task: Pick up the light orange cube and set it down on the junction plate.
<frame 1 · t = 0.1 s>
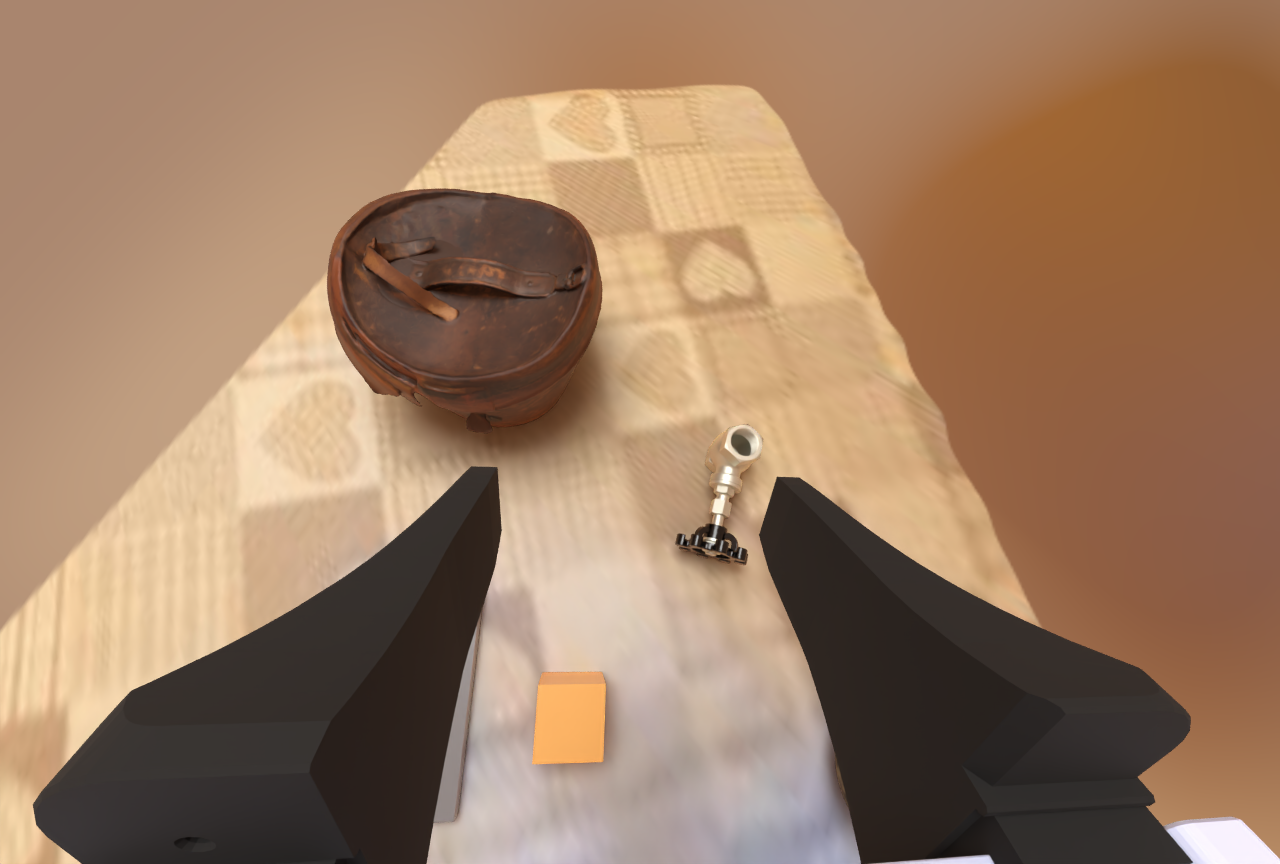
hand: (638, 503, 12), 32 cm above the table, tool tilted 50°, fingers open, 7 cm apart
junction plate: (394, 694, 37), on the table
valve: (713, 497, 46), on the table
light orange cube: (570, 705, 38), on the table
brown tapered piece: (500, 371, 47), on the table
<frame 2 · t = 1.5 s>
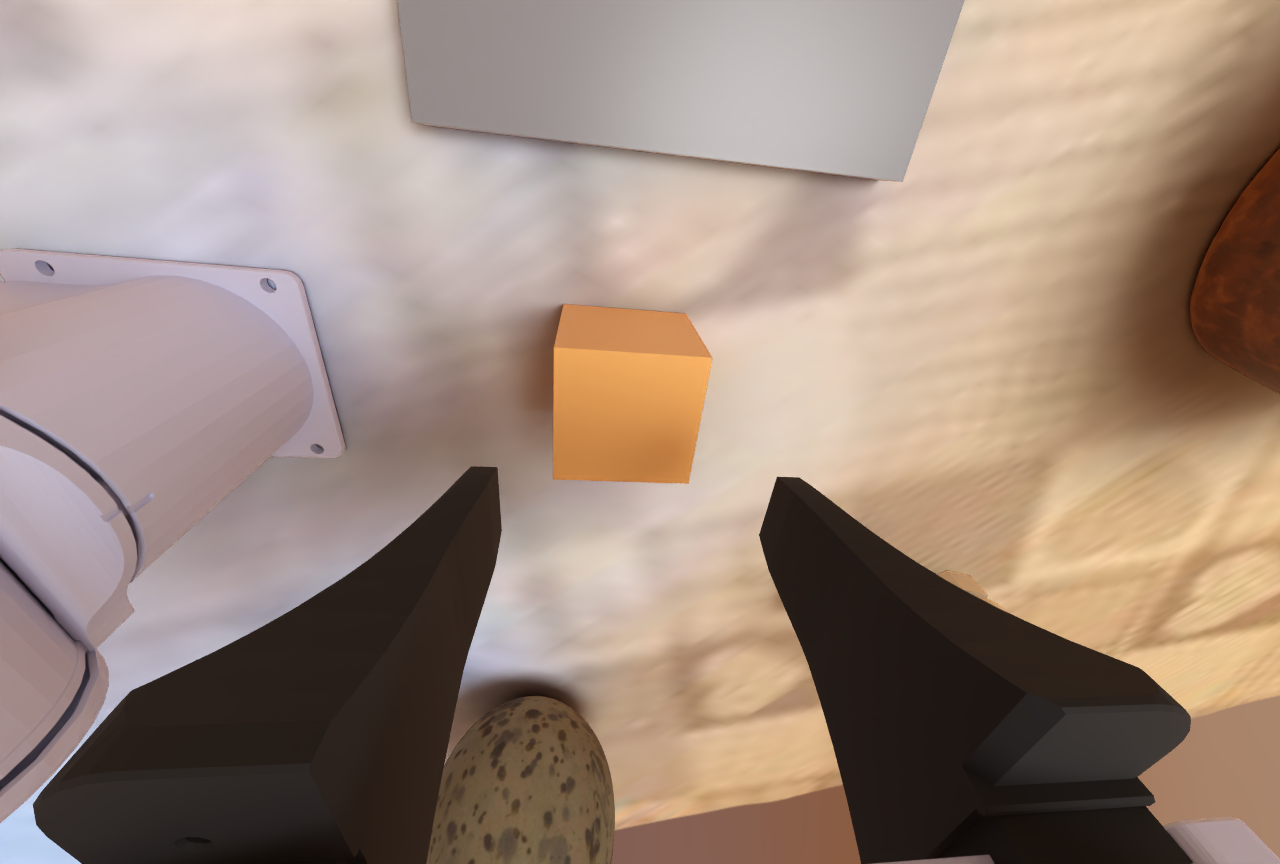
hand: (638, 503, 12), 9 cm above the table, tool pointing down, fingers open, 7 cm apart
decorative egg: (535, 702, 32), on the table
valve: (890, 576, 29), on the table
light orange cube: (620, 366, 20), on the table
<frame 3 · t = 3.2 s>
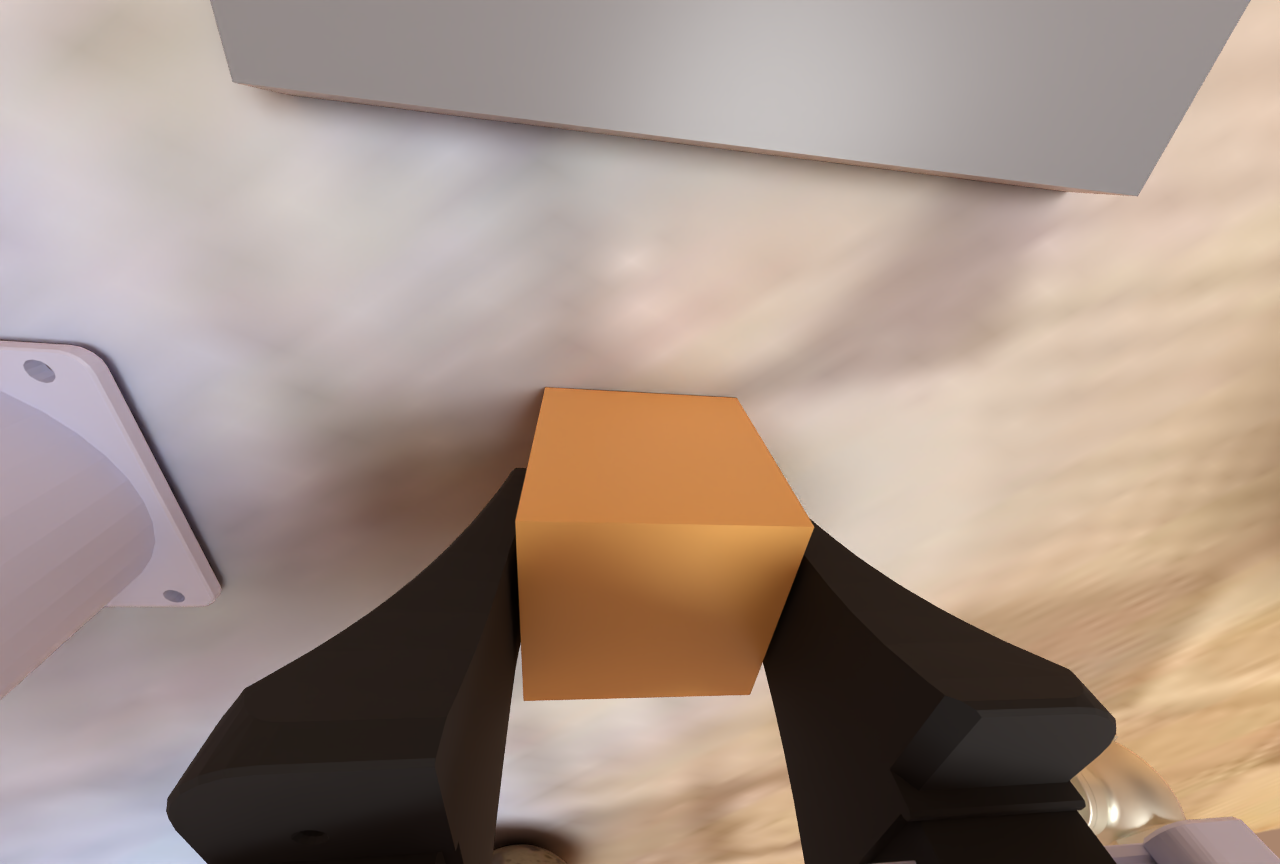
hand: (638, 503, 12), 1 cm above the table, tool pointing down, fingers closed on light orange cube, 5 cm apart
decorative egg: (519, 845, 26), on the table
valve: (983, 705, 22), on the table
light orange cube: (634, 471, 13), on the table, touching gripper
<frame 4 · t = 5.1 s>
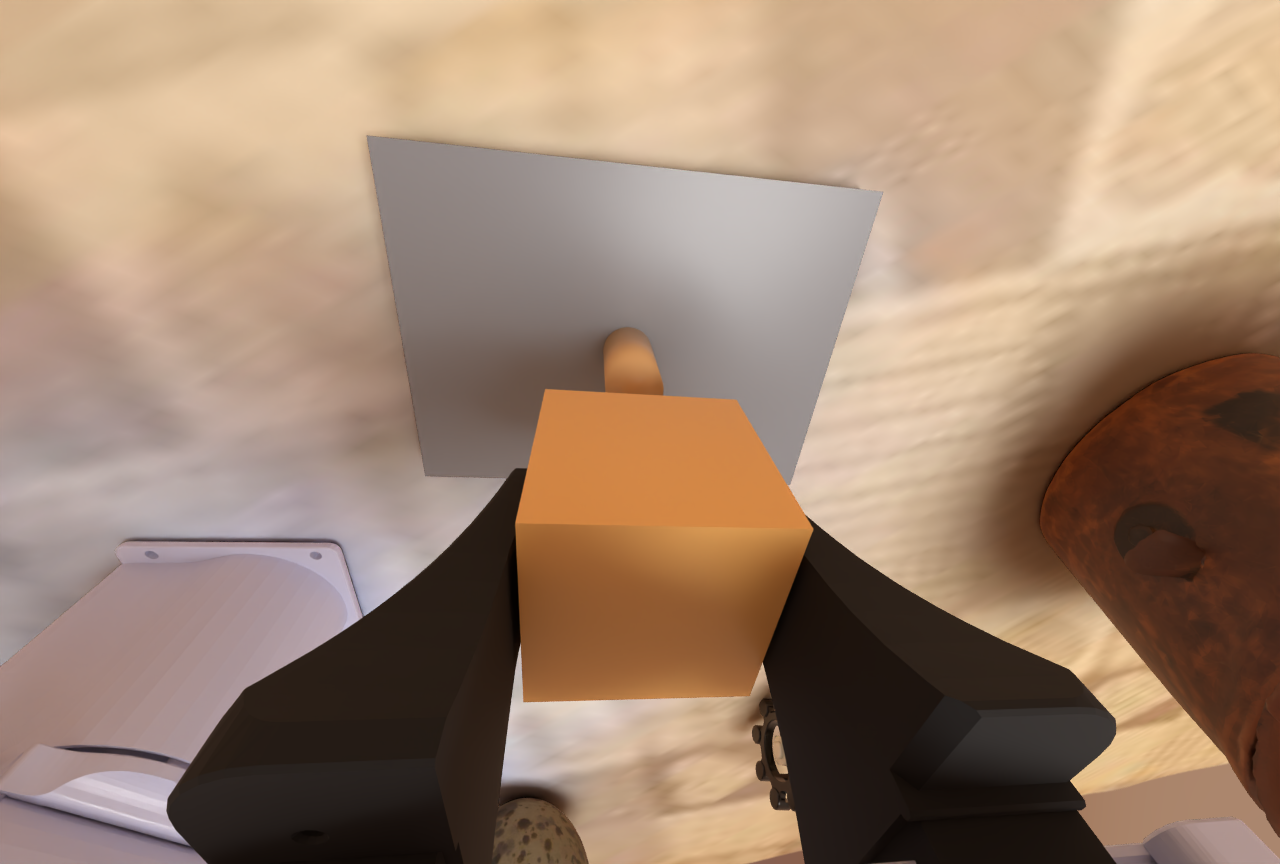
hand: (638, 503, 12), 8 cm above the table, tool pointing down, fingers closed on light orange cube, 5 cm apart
junction plate: (625, 337, 18), on the table
decorative egg: (527, 799, 38), on the table
valve: (830, 703, 35), on the table
light orange cube: (634, 473, 13), point 7 cm above the table, touching gripper
brown tapered piece: (1154, 459, 25), on the table
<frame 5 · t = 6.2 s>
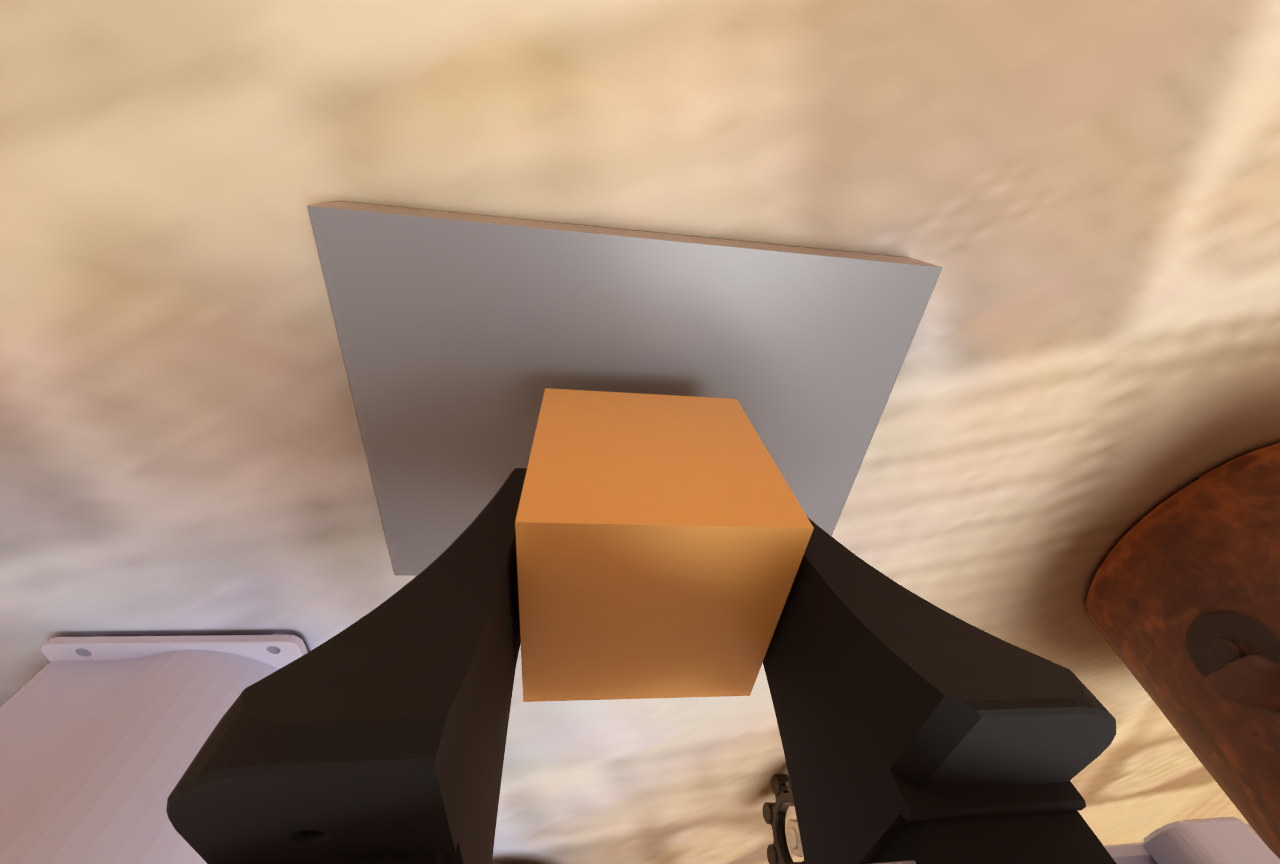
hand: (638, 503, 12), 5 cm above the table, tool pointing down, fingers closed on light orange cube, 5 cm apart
junction plate: (627, 419, 16), on the table
valve: (847, 775, 32), on the table
light orange cube: (634, 472, 13), point 3 cm above the table, touching gripper
brown tapered piece: (1217, 536, 22), on the table
when the fingers open (4 cm above the table, at t = 7.1 s): light orange cube drops 1 cm, resting on junction plate.
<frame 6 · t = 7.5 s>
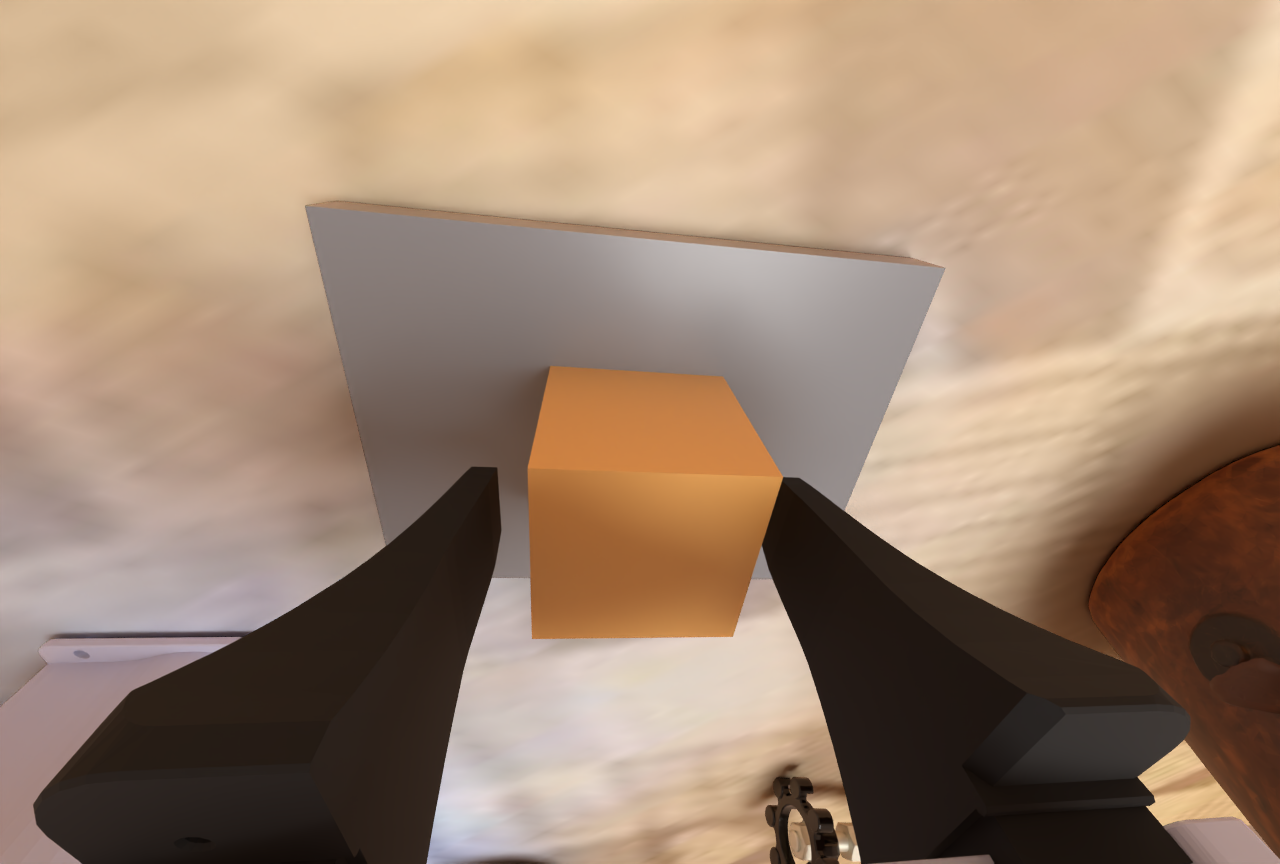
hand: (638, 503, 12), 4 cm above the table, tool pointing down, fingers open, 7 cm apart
junction plate: (628, 421, 16), on the table
valve: (849, 778, 32), on the table
light orange cube: (630, 445, 14), point 1 cm above the table, touching junction plate
brown tapered piece: (1220, 538, 22), on the table
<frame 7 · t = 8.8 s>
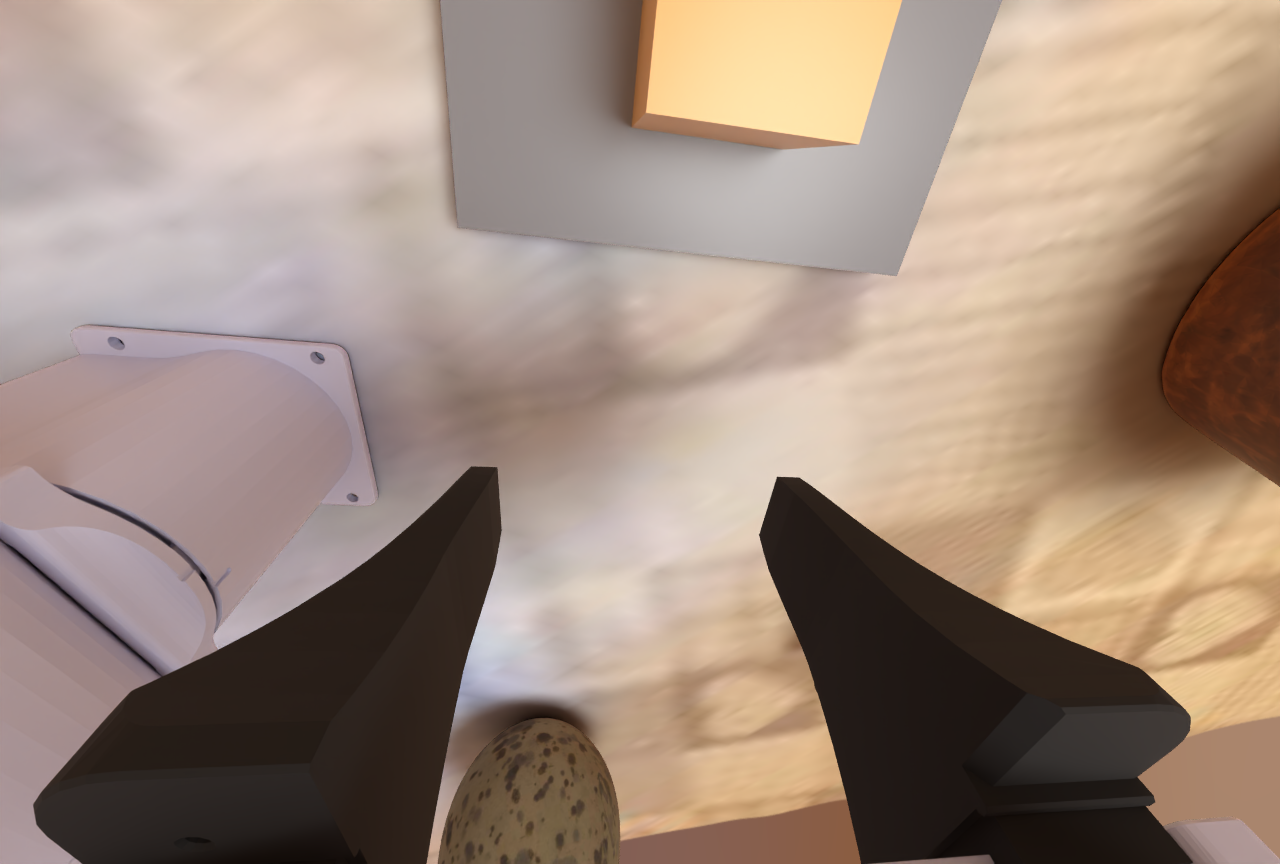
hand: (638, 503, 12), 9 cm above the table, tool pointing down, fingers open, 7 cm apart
junction plate: (714, 47, 15), on the table
decorative egg: (544, 723, 34), on the table
light orange cube: (725, 37, 13), point 1 cm above the table, touching junction plate
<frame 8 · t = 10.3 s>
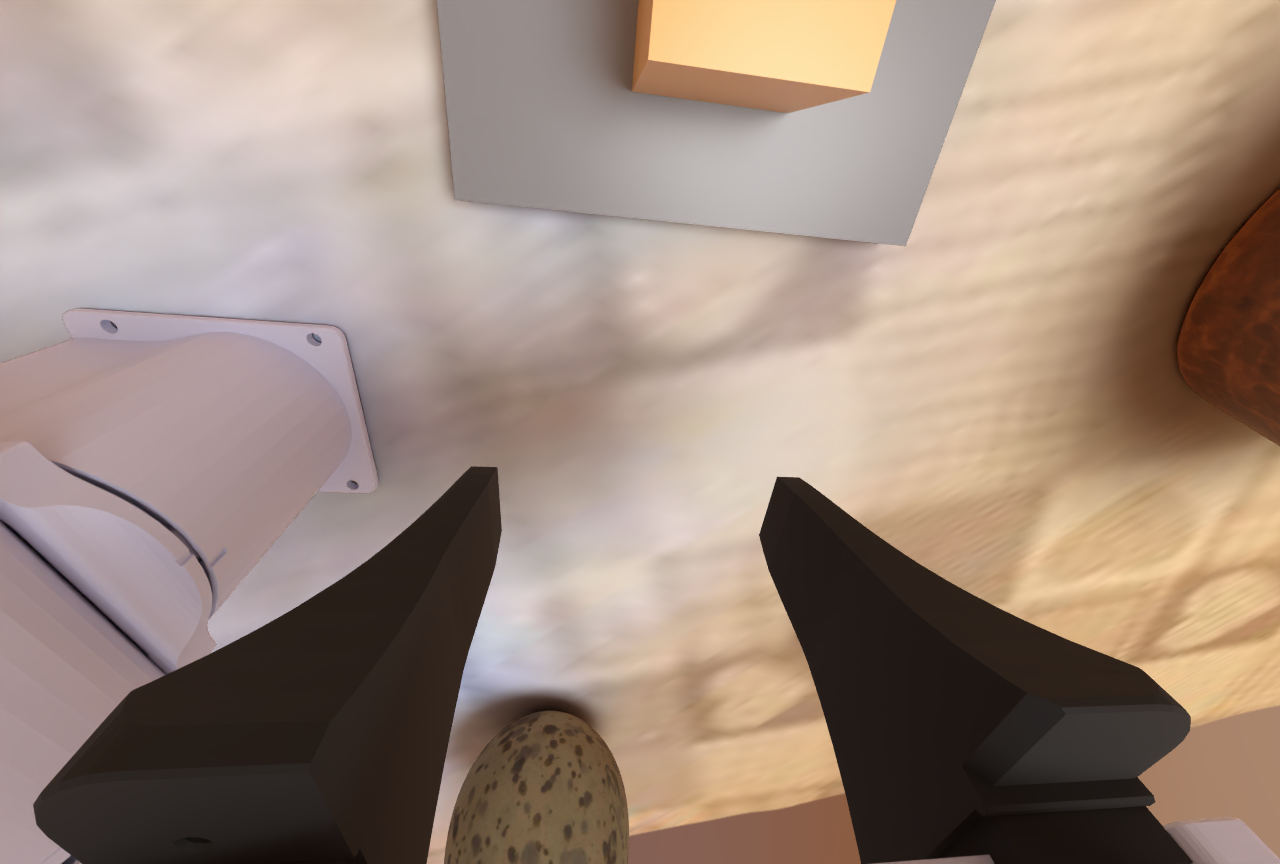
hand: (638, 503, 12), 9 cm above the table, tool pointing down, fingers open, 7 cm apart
junction plate: (716, 8, 14), on the table
decorative egg: (550, 716, 34), on the table
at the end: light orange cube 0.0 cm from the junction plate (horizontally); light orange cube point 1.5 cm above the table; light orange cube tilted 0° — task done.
